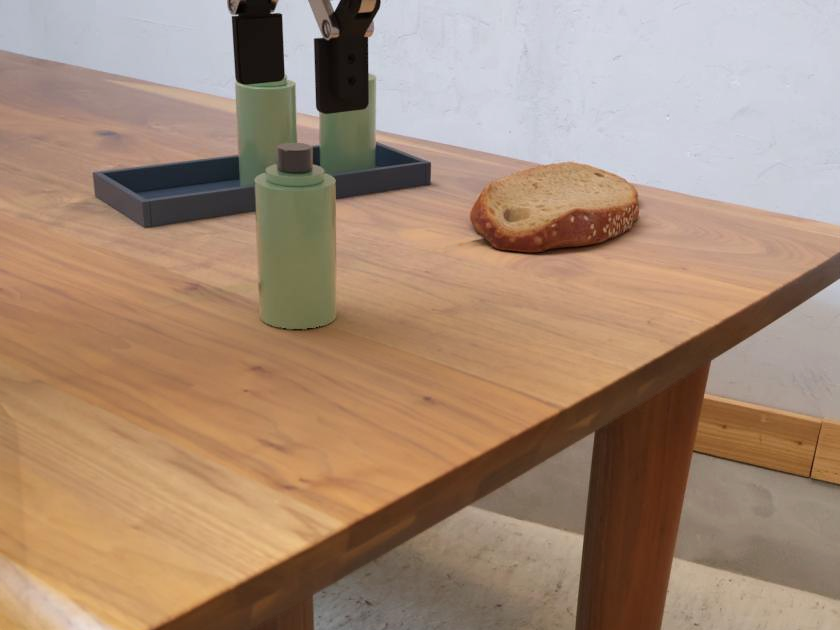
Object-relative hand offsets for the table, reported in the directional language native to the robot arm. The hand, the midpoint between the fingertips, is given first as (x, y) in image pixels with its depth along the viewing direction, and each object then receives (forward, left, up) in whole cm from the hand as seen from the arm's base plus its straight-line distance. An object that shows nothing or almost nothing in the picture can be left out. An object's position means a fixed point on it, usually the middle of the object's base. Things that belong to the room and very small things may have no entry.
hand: (299, 95), depth 69 cm
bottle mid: (+12, +26, -13) cm, 32 cm away
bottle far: (+20, +26, -13) cm, 35 cm away
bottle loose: (0, 0, -14) cm, 14 cm away
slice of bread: (+30, +9, -14) cm, 34 cm away
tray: (+12, +26, -14) cm, 32 cm away
